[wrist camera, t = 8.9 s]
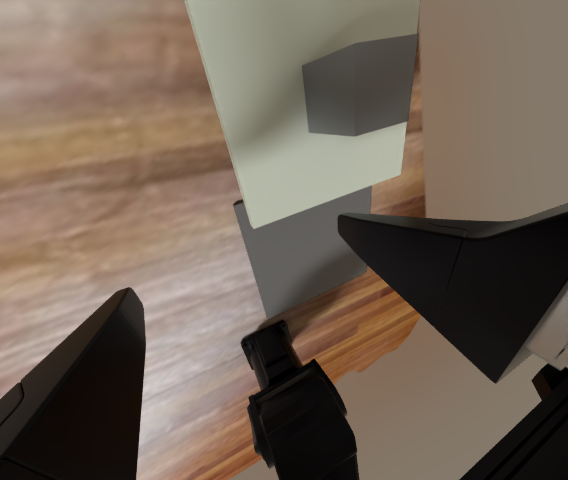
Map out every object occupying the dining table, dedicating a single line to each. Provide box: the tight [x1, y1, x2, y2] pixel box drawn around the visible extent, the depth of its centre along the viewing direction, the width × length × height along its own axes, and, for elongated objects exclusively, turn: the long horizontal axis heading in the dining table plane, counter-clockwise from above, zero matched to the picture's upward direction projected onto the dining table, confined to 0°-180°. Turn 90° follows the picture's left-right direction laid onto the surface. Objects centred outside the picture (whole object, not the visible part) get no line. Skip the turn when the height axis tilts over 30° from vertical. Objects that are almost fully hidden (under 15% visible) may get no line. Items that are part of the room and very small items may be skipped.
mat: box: [233, 185, 372, 319], centre depth 26 cm, size 16×16×1 cm
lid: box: [184, 0, 420, 229], centre depth 12 cm, size 14×14×5 cm
